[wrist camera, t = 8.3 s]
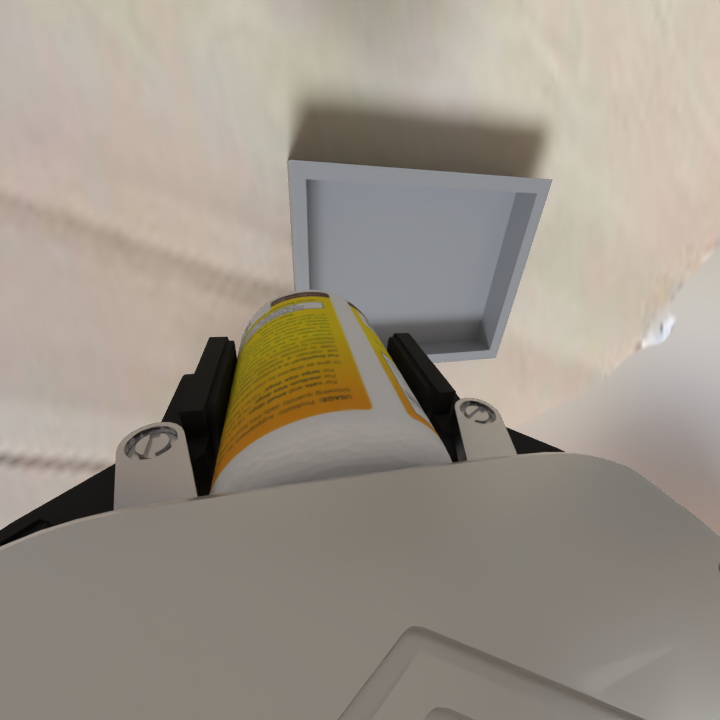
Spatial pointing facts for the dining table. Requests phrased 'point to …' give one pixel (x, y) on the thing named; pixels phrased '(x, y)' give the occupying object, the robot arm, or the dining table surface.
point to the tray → (416, 249)
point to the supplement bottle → (317, 400)
